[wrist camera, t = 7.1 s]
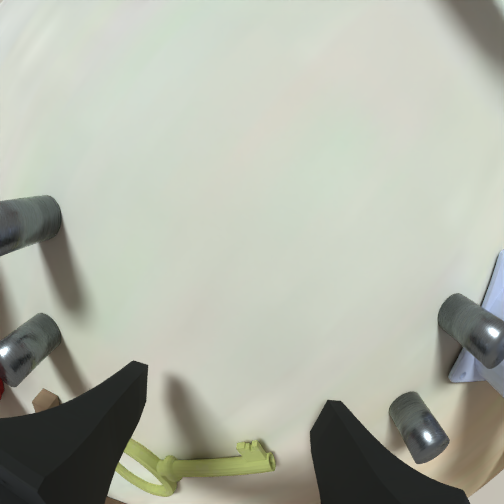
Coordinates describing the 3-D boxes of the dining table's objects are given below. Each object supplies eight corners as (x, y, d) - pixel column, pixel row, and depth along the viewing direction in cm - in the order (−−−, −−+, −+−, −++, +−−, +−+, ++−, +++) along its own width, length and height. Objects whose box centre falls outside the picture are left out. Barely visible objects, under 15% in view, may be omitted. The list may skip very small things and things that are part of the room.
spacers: (471, 296, 11) (520, 327, 8) (408, 416, 13) (434, 460, 9) (33, 192, 10) (-28, 200, 6) (35, 339, 12) (-6, 375, 8)
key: (284, 442, 14) (287, 469, 12) (155, 488, 16) (149, 508, 14) (195, 370, 13) (187, 398, 11) (81, 436, 14) (70, 456, 12)
